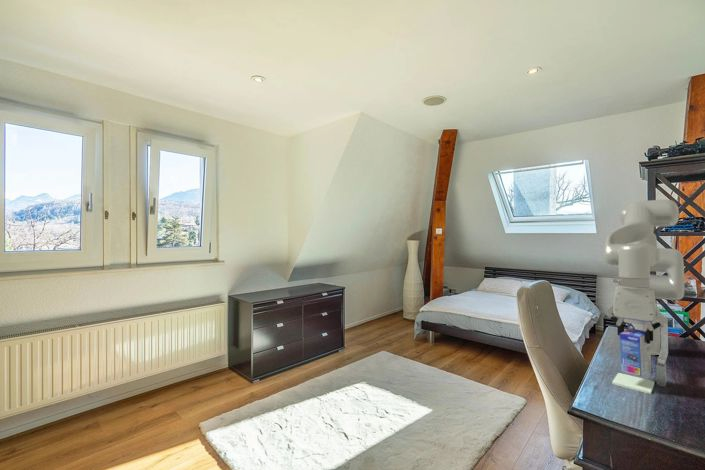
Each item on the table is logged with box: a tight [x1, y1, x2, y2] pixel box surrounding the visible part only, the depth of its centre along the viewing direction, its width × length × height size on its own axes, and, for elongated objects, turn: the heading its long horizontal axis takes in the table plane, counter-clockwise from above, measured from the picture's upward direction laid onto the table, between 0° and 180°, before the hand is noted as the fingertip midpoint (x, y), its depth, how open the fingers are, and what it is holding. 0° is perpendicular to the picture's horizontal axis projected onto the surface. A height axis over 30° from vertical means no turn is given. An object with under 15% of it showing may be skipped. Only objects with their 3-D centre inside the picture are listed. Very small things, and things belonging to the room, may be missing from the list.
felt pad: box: [611, 372, 656, 395], centre depth 102 cm, size 11×9×1 cm
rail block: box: [655, 361, 667, 387], centre depth 102 cm, size 4×2×6 cm, turn 132°
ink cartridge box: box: [619, 323, 652, 377], centre depth 102 cm, size 10×6×14 cm, turn 124°
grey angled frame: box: [623, 319, 669, 364], centre depth 110 cm, size 15×11×13 cm
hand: (635, 339), depth 102 cm, fingers closed on ink cartridge box, 5 cm apart
